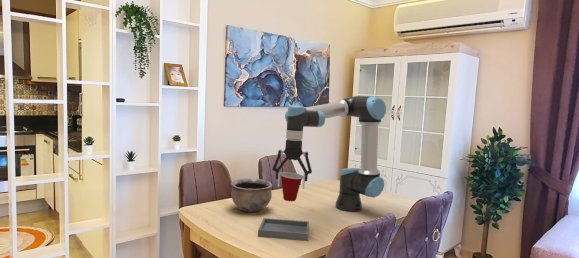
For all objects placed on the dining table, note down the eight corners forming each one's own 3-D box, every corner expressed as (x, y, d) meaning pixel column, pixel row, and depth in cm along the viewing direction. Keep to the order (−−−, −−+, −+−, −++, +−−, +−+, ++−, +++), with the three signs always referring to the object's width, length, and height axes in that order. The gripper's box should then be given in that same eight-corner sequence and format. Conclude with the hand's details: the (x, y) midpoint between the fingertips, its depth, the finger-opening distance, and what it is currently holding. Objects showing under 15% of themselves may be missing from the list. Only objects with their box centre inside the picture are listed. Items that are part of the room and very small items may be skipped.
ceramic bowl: (275, 206, 203) (277, 180, 202) (264, 218, 182) (265, 189, 181) (238, 202, 208) (239, 176, 207) (223, 213, 187) (224, 185, 186)
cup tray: (308, 227, 173) (309, 221, 173) (307, 240, 157) (308, 233, 157) (263, 224, 175) (263, 217, 174) (257, 236, 159) (258, 229, 158)
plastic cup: (299, 204, 160) (301, 177, 159) (276, 201, 162) (277, 175, 161) (303, 198, 170) (305, 173, 169) (281, 195, 172) (283, 170, 172)
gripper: (319, 140, 167) (316, 187, 168) (270, 136, 169) (267, 183, 170) (319, 142, 159) (316, 191, 161) (267, 138, 161) (264, 186, 163)
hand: (291, 187), depth 166 cm, fingers closed on plastic cup, 11 cm apart
